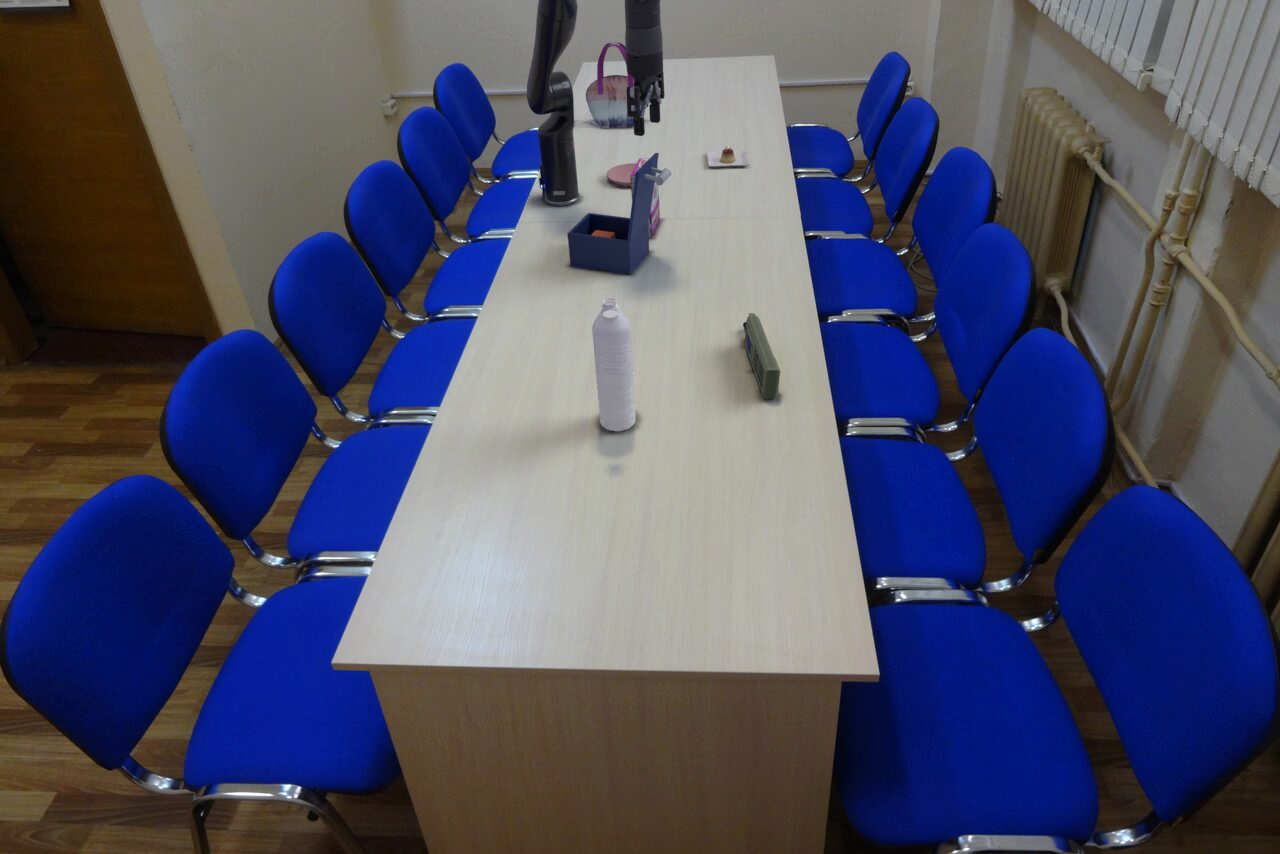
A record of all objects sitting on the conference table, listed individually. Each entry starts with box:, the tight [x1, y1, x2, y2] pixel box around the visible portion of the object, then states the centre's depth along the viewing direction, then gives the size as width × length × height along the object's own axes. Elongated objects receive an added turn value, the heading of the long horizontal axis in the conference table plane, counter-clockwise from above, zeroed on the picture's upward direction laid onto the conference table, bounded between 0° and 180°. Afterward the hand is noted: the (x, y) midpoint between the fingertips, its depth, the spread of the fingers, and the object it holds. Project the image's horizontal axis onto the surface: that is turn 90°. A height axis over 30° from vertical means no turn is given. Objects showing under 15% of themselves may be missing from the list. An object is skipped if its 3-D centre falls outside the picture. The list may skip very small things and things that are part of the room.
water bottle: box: [591, 297, 636, 432], centre depth 147 cm, size 9×6×25 cm
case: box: [566, 212, 650, 275], centre depth 204 cm, size 16×12×8 cm
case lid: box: [628, 152, 672, 240], centre depth 193 cm, size 16×12×5 cm
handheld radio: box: [742, 312, 781, 401], centre depth 167 cm, size 7×3×25 cm
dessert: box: [706, 144, 751, 168], centre depth 251 cm, size 12×12×5 cm
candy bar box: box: [630, 157, 661, 239], centre depth 214 cm, size 11×5×16 cm, turn 168°
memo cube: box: [591, 230, 615, 239], centre depth 205 cm, size 5×5×5 cm
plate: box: [606, 162, 637, 187], centre depth 244 cm, size 14×14×2 cm
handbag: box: [585, 41, 641, 129], centre depth 276 cm, size 21×10×25 cm, turn 85°
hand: (647, 128), depth 183 cm, fingers open, 8 cm apart
